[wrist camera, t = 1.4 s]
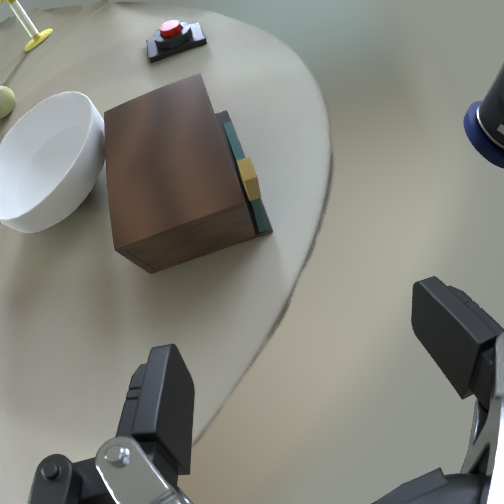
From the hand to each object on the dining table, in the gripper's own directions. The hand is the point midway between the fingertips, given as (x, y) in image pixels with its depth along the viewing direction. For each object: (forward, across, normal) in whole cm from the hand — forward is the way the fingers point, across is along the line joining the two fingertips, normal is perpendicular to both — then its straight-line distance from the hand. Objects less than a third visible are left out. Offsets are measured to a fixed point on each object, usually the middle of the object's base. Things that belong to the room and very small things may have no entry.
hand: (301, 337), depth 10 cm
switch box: (+50, +6, -24) cm, 56 cm away
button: (+48, +6, -26) cm, 55 cm away
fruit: (+54, +46, -26) cm, 76 cm away
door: (+26, 0, +1) cm, 26 cm away
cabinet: (+29, +7, -1) cm, 30 cm away
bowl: (+35, +25, -6) cm, 43 cm away
